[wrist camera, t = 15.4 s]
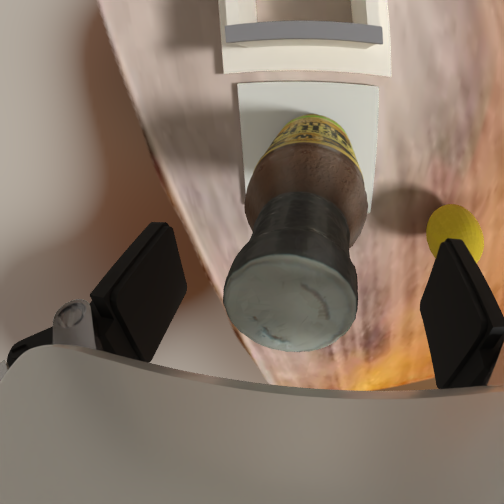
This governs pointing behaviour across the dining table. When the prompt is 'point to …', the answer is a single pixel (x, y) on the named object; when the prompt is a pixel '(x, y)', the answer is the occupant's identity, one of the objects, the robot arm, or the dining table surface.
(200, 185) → the dining table surface
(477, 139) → the dining table surface
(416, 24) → the dining table surface
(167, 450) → the robot arm
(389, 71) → the caddy
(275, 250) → the sauce bottle
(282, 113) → the mat
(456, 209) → the lemon
